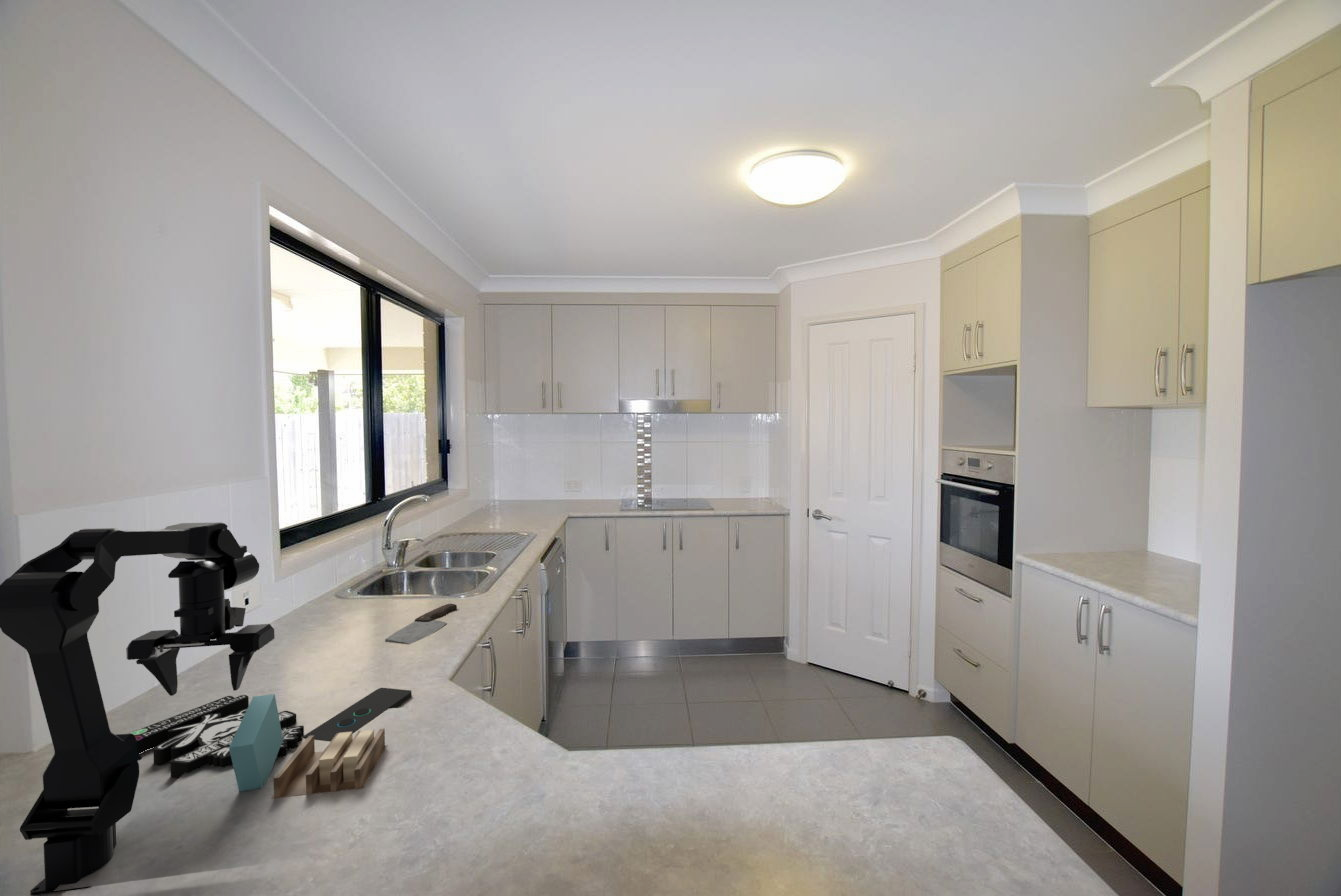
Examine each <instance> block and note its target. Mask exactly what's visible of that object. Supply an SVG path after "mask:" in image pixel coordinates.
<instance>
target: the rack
mask: <svg viewBox="0 0 1341 896" xmlns="http://www.w3.org/2000/svg"><path fill="white" fill-rule="evenodd" d="M361 731H362V730H357V733H356V734H355V736H354V737H352V741H351V743H350V744H349V746H348V747H347V749H346V750H345V751H344V753H343V754H342V756H341V757H340V759H339V760H338V762H337V763H336V765H335V766H334V767H333V769H332V770H331V772H330V783H331V784H326V785H320V773H319V759H320V758H321V757H322V755H323V754H324V753H325V751H326V750H327V749H328V747H329V746H330V745H331V743H332V742H333V741H334V739H335V738H336V737H337V735H338V734H339V733H337V734H336V735H335V737H334V738H333V739H332V741H329V743H328V745H327V746H326V747H325V749H324V750H323V751H316V750H315V749H316V748H315V739H314V735H311V736H308V738H305V740H304V741H303V742H302V743H301V744H300V745H299V746H298V747H297V749H296V751H295V752H294V753H293V754H292V756H291V757H290V758H289V759H288V760H287V761H286V762H285V764H284V765H283V766H282V768H281V769H279V771H278V772H277V773H276V774H275V775H274V777H273V779H272V780H273V795H272V796H271V799H277V798H278V799H279V798H289V797H296V796H305V795H314V794H315V795H316V794H323V793H324V794H325V793H331V792H332V793H333V792H341V791H342V792H343V791H348V790H349V791H351V790H359V789H364V787H366V784H367V782H368V780H369V779H370V777H371V776H372V774H373V771H374V770H375V768H376V766H377V765H378V762H380V759H381V757H382V756H383V754H384V753H385V750H386V748H387V746H388V745H387V744H386V739H385V738H386V736H385V734H386V733H385V728H379V729H378V731H377V733H376V734H375V735H374V739H373V740H372V742H371V744H370V745H369V747H368V749H367V750H366V752H365V753H364V755H363V757H362V758H361V760H360V761H359V763H358V765H357V766H356V768H355V769H354V774H355V781H353V782H344V779H343V757H344V755H345V754H346V752H347V751H348V749H349V748H350V746H351V745H352V744H353V742H354V741H355V739H356V738H357V736H358V735H359V733H360V732H361Z"/></svg>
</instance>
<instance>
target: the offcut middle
mask: <svg viewBox="0 0 1341 896" xmlns="http://www.w3.org/2000/svg"><path fill="white" fill-rule="evenodd" d="M352 740H353V734H352V732H342V733H339V734H338V735H337V737H336V738H335V739H334V741H333V742H332V743H331V745H330V746H329V747H328V749H327V750H326V751H325V753H324V754H323V755H322V757H321V758H320V759H319V773H320V785H326V784H331V783H330V772H331V770H332V769H333V767H334V766H335V765H336V763H337V762H338V760H339V759H340V757H341V756H342V754H343V753H344V751H345V750H346V749H347V747H348V746H349V744H350V743H351V741H352Z"/></svg>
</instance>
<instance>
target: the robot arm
mask: <svg viewBox="0 0 1341 896" xmlns="http://www.w3.org/2000/svg"><path fill="white" fill-rule="evenodd" d="M228 527H229V526H228V525H227V524H226V523H225V522H222V521H221V522H183V523H178V524H177V523H176V524H173V525H169V526H166V527H165V528H162V529H119V528H116V527H115V528H112V527H111V528H107V527H106V528H83V529H79V530H78V531H73V532H72V533H70V534H69V535H68V536H67V537H66V538H65V539H64V540H63V541H62V542H60V544H58V545H57V546H55V547H53V548H51V549H49V550H47V551H45V552H44V553H41V554H39V555H37V556H36V557H34V558H32V559H30V560H28V561H27V562H25V563H24V564H22V565H21V566H20V567H19V568H18V569H17V570H16V571H14V573H13V574H12V575H10V576H9V577H7V578H6V579H5V580H3V581H2V583H0V630H1V632H2V633H3V634H5V636H7V637H8V638H10V639H11V640H12V641H14V642H15V643H17V645H19V646H21V647H22V648H24V649H25V650H26V652H27V654H28V658H29V660H30V664H31V668H32V672H33V675H34V679H35V682H36V686H37V690H38V694H39V697H40V701H41V702H40V703H41V705H42V709H43V712H44V716H45V719H46V724H47V727H48V731H49V735H50V738H51V742H52V746H53V751H54V754H53V755H52V758H51V760H50V761H49V763H48V765H47V766H46V768H45V770H44V771H43V774H42V784H43V789H42V791H41V792H40V794H39V796H38V797H37V799H36V801H35V803H34V804H33V806H32V807H31V809H30V811H29V812H28V814H27V815H26V817H25V819H24V820H23V822H22V824H21V825H20V827H19V831H20V834H21V835H22V837H23V838H24V840H26V841H29V840H33V839H46V841H45V842H44V843H43V861H44V862H43V866H44V878H43V879H42V880H41V881H40V882H39V883H37V884H36V885H35V886H34V887H33V888H32V889H31V890H30V891H29V892H30V893H29V894H30V896H39V895H47V894H55V893H62V892H70V891H78V890H79V891H80V890H84V889H86V890H87V889H89V888H92V887H93V885H89V886H81V887H80V886H79V887H74V888H73V887H72V888H67V889H59V890H57V889H58V888H59V887H60V886H63V885H64V886H66V885H71V884H76V883H78V882H79V881H81V880H82V879H83V878H85V877H87V876H90V875H91V874H93V873H95V872H97V871H98V870H100V869H101V868H104V866H106V865H107V864H108V863H109V862H110V861H111V860H112V859H113V857H114V849H115V848H116V845H117V827H116V825H117V822H119V821H120V820H121V819H122V818H124V817H125V816H127V814H129V813H130V812H132V809H133V804H134V800H135V796H136V792H137V786H138V782H139V777H140V764H139V761H141V760H142V759H143V757H142V756H141V754H140V755H139V753H138V750H137V740H136V738H135V736H134V735H133V734H128V733H121V734H119V733H118V734H115V733H113V732H112V731H111V729H110V724H109V720H108V717H107V713H106V708H105V705H104V700H103V696H102V691H101V689H100V684H99V679H98V675H97V671H96V667H95V663H94V659H93V654H92V650H91V646H90V642H89V638H88V632H89V630H90V629H91V627H92V625H93V624H94V622H95V619H96V618H97V617H98V614H99V612H100V604H99V598H100V597H101V595H103V593H104V592H105V591H106V590H107V589H108V587H110V585H111V584H112V583H113V582H114V580H115V575H116V564H117V562H118V561H119V560H120V559H121V558H122V557H135V556H148V555H152V556H153V555H162V556H163V557H167V558H168V557H169V558H173V559H185V560H184V561H183V560H181V561H179V562H178V564H177V565H176V566H175V567H174V568H173V569H171V571H170V572H169V573H168V575H167V576H168V579H178V597H179V599H178V600H179V608H177V609H175V610H174V611H173V615H174V616H173V617H174V618H179V624H180V625H179V626H180V627H179V628H180V629H179V630H180V631H179V632H180V633H179V632H178V631H177V630H176V629H164V630H162V629H160V630H150V631H148V632H146V633H145V634H143V635H140V636H138V637H136V638H134V639H132V640H131V641H130V642H129V643H128V645H127V646H126V649H125V650H126V653H125V654H126V660H128V661H130V660H133V661H134V660H135V662H136V663H135V664H136V665H142V666H143V667H145V669H146V670H147V671H149V673H150V674H151V675H153V677H154V678H155V679H156V680H157V681H158V682H159V683H160V685H161V687H163V689H164V690H165V692H166V693H167V694H168V695H169V696H171V697H172V696H174V695H176V694H177V693H178V669H177V668H178V667H177V658H178V655H179V652H180V649H183V648H184V649H185V648H186V649H187V648H198V647H201V648H203V647H215V646H217V647H218V646H229V649H230V650H231V651H233V652H232V653H230V654H228V662H229V664H228V665H229V672H230V673H229V674H230V681H231V687H232V690H233V692H235V691H238V690H239V689H240V687H241V685H242V682H243V681H244V680H243V679H244V677H245V674H246V671H247V669H248V666H249V665H250V661H251V659H252V658H253V656H254V654H255V653H256V652H257V651H259V650H260V649H262V648H263V647H265V646H266V645H268V644H269V643H270V642H272V641H273V640H275V639H276V638H275V628H274V627H273V626H272V624H270V623H263V624H261V623H259V624H247V625H246V626H244V622H245V616H246V607H239V606H238V607H237V606H231V601H230V598H226V597H225V591H226V590H227V591H228V590H229V589H232V588H235V587H238V586H239V585H242V584H245V583H247V582H249V581H251V580H253V579H254V578H256V576H257V575H258V573H259V570H260V562H258V560H257V558H256V556H255V555H253V554H252V553H250V552H249V551H248V546H247V545H239V543H238V541H237V539H236V538H235V536H234V535H233V533H232V531H231V530H229V529H228ZM83 560H84V561H87V560H93V562H92V563H91V564H90V565H89V566H88V567H87V568H86V570H85V571H77V570H76V571H69V570H71V569H72V568H73V569H74V567H76V566H78V565H79V564H81V563H82V562H83ZM235 627H236V628H239V627H242V628H241V629H239V630H237V631H236V632H235V631H234V632H226V631H230V630H232V629H235ZM83 808H84V809H83Z"/></svg>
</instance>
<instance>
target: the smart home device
mask: <svg viewBox="0 0 1341 896" xmlns="http://www.w3.org/2000/svg"><path fill="white" fill-rule="evenodd" d="M411 698H412V690H411V689H410V690H409V689H408V690H407V689H400V688H389V687H379V688H377V689H375V690H374V691H372V692H370V693H369V694H367V695H366V696H364V697H363V698H361V699H360V700H358V701H356V702H355V703H353V704H352V705H350V706H349V707H347V708H345V709H343V710H342V711H340V712H339V713H337V714H336V715H334V716H333V717H331V718H330V719H328V720H327V721H325V722H323V723H322V724H320V725H318V726H317V727H315V728H314V729H312V730H311V731H308V732H307V733H306V734H304V736H303V737H302V739H307V738H308V736H311V735H314V740H319V741H324V742H331V741H332V739H333V738H334V737H335V735H336V734H337V733H342V732H352V735H353V734H354V733H356V731H357V732H358V731H359V730H360V729H361V728H362V727H364V726H366V725H367V724H368V723H370V722H371V721H373V720H375V719H376V718H377V717H379V716H380V715H381V714H383V713H384V712H385V711H387V710H389V709H397V708H398V707H399V706H401V705H402V704H404V703H406V702H407V701H408V700H409V699H411Z"/></svg>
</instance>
